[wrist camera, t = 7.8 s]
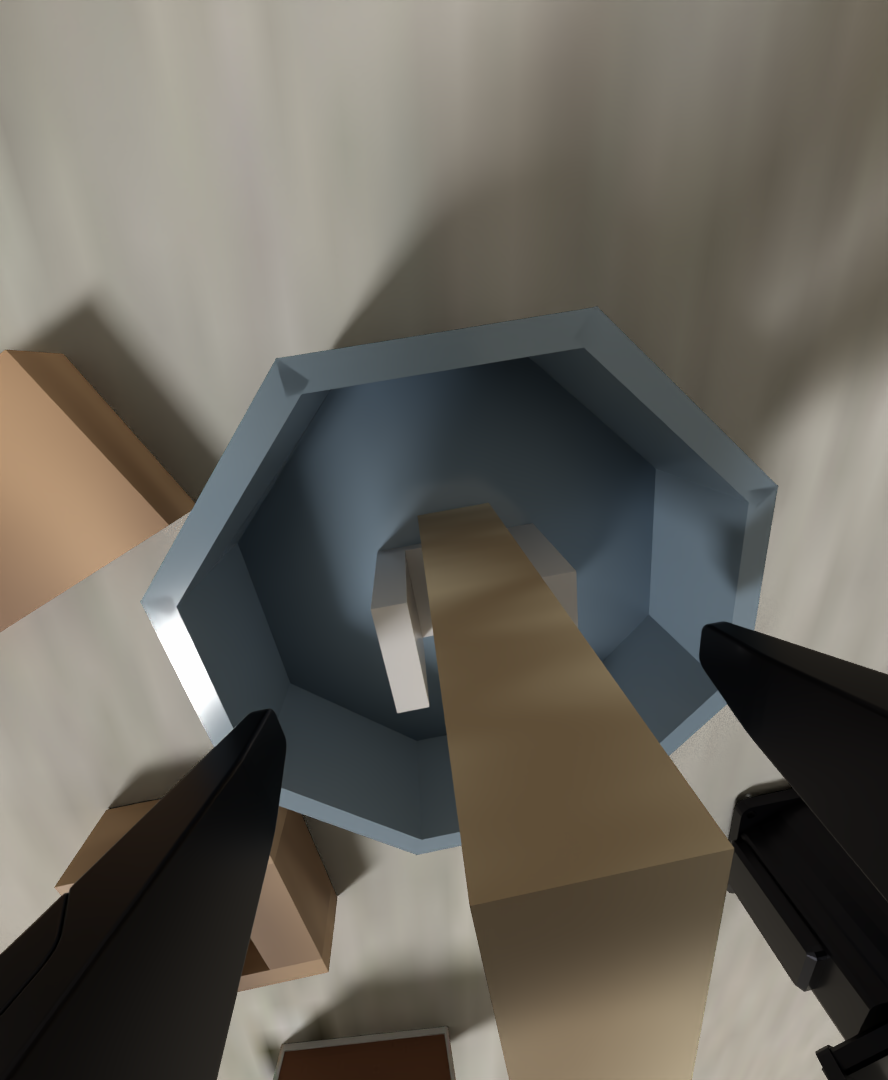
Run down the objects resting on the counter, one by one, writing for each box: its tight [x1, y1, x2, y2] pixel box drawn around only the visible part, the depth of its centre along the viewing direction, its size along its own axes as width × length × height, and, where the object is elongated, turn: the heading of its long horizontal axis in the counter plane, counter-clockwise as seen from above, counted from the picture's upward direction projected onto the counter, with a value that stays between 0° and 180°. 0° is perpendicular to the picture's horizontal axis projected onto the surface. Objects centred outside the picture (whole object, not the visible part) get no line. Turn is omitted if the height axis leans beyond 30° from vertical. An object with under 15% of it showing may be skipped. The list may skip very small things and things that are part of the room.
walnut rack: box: [54, 799, 337, 992], centre depth 16 cm, size 7×8×2 cm
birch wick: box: [418, 503, 734, 1080], centre depth 8 cm, size 2×4×9 cm, turn 9°
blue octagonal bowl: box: [140, 306, 778, 855], centre depth 11 cm, size 13×13×4 cm
